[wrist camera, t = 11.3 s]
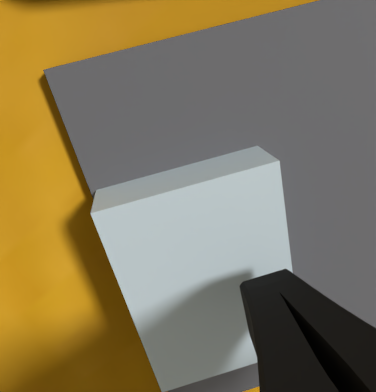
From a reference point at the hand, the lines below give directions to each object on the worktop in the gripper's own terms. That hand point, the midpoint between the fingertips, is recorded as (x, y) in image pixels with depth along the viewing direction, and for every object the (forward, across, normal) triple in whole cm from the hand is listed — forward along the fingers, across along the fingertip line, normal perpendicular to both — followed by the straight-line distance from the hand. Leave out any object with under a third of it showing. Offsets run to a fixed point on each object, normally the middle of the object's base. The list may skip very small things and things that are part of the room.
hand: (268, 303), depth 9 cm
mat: (+3, -2, 0) cm, 4 cm away
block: (+2, -1, 0) cm, 2 cm away
